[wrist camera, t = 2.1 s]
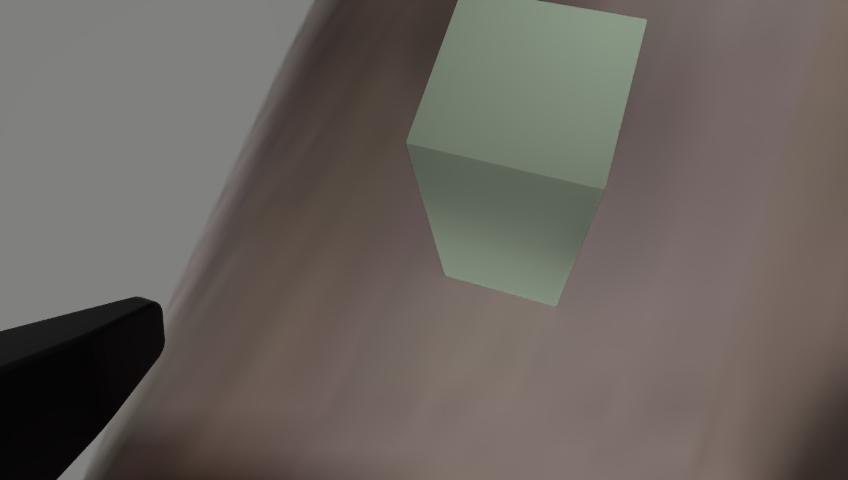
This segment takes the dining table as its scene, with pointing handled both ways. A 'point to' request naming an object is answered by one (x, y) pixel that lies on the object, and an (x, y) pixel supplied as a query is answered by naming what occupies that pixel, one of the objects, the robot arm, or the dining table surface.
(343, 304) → the dining table surface
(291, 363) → the dining table surface
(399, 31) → the dining table surface
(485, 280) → the sage green block
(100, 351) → the robot arm
